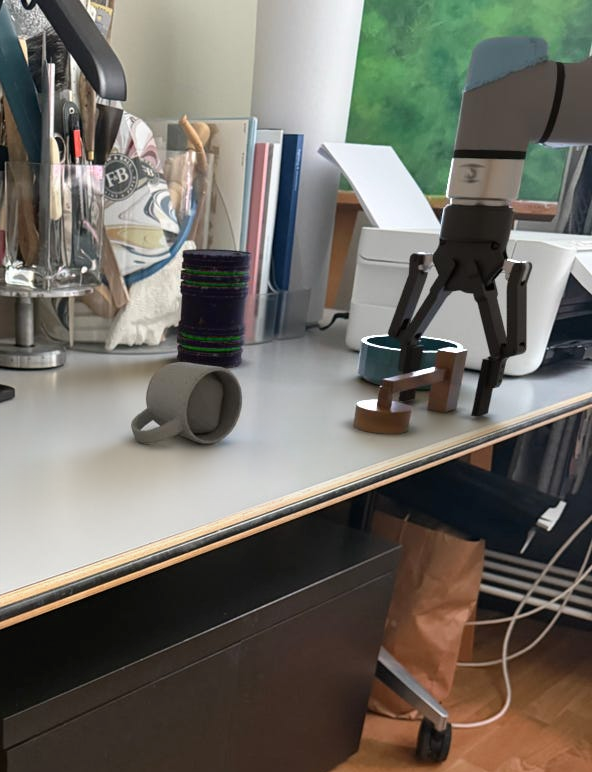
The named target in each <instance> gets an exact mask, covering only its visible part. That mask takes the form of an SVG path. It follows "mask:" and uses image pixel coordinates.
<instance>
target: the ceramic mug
mask: <svg viewBox="0 0 592 772" xmlns="http://www.w3.org/2000/svg"><path fill="white" fill-rule="evenodd" d="M242 393H243V392H242V388H241V385H240V382H239V380H238V378H237V377H236V375H235V374H234V373H233V372H232V371H231V370H230V369H227V368H222V367H217V366H208V365H201V364H193V363H187V362H177V361H176V362H172V363H168V364H166V365H163V366H162V367H161V368H159V369H158V370H157V371H156V372H155V373H154V374H153V375H152V377H151V379H150V381H149V382H148V386H147V390H146V395H145V403H146V408H145V409H143V410H142V411H141V412H140V413H138V414H137V415H136V416H135V417H134V418H133V419H132V420H131V424H130V429H131V431H132V434H133V436H134V437H133V438H134V440H136V442H138V443H141V444H147V445H150V444H156V443H157V444H158V443H160V442H164V441H166V440H169V439H171V438H172V437H173V438H174V436H176V435H179V436H181V437H183V438H186V439H188V440H191V441H193V442H197V443H198V444H203V445H211V444H212V445H213V444H216V443H219V442H220V441H222V440H224V439H225V438H226V437H227V436H229V435H230V433H232V431H233V430H234V428H235V427H236V425H237V423H238V421H239V419H240V415H241V412H242V408H243V407H242V406H243V394H242ZM151 422H154V423H155V424H156V425H158V426H157V427H154V428H151V429H143V428H144V427H146V426H147V425H148V424H149V423H151ZM142 429H143V430H142Z"/></svg>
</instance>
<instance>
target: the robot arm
mask: <svg viewBox="0 0 592 772" xmlns="http://www.w3.org/2000/svg"><path fill="white" fill-rule="evenodd" d="M548 49H549V44H548V41H547V40H546V39H545V38H543V37H539V36H527V35H505V36H495V37H494V36H493V37H488V38H485V39H483V40H481V41H480V42H478V43H477V44H476V45H475V47H473V50H472V51H471V55H470V61H469V65H468V69H467V75H466V78H465V83H464V87H463V88H462V96H461V104H460V110H459V116H458V122H457V127H456V128H457V129H456V134H455V140H454V146H453V147H454V148H453V154H452V158H451V164H450V170H449V176H448V181H447V182H448V183H447V187H446V194H445V196H446V198H448V199H450V202H449V204H447V203H446V204H445V206H444V207H443V210H442V216H441V222H440V226H439V227H440V228H439V233H438V245H437V247H436V249H435V250H434V251H433V252H431V253H430V252H429V253H428V252H424V251H423V252H422V251H421V252H414V253H412V254H411V255H410V256H409V259H408V261H409V263H408V275H407V278H406V281H405V283H404V286H403V289H402V292H401V294H400V297H399V299H398V303H397V305H396V309H395V311H394V314H393V317H392V319H391V322H390V325H389V328H388V330H387V335H388V336H389V337H390V338H394V339H396V340H398V341H399V342H400V344H401V350H400V356H399V363H398V371H399V372H403V374H407V373H411V372H416V371H420V365H421V360H422V354H423V348H424V346H423V345H416V343H419V342H421V340H420V338H421V337H423V335H424V333H425V332H426V330H427V329H428V327H429V325H430V324H431V322H432V321H433V319H434V318H435V317H436V315H437V313H438V312H439V310H440V309H441V307H442V306H443V304H444V303H445V301H446V300H447V298H448V297H449V296H450V295H451V294H452V293H453V292H462V293H465V294H470V295H472V296H473V299H474V301H475V302H476V303H477V307H478V312H479V315H480V319H481V324H482V327H483V333H484V336H485V341H486V344H487V349H488V354H489V356H487V357H486V358H482V359H481V365H480V369H479V375H478V380H477V386H476V389H475V390H476V391H475V395H474V399H473V404H472V410H471V414H470V416H472V417H476V418H478V417H481V416H485V415H487V414H489V409H490V405H491V400H492V395H493V390H494V389H496V388H499V387H501V385H502V383H503V380H504V379H503V378H504V373H505V369H506V364H507V361H508V360H509V358H511V357H516V356H519V355H523V354H525V353H526V352H527V349H528V348H527V347H528V345H527V344H528V342H527V340H528V339H527V337H528V336H527V334H528V333H527V331H528V327H527V325H528V320H527V318H528V317H527V316H528V310H527V309H528V282H529V279H530V275H531V273H532V269H533V263H532V262H531V261H529V260H528V261H527V260H525V261H517V260H514V259H509V256H508V253H507V252H508V250H507V249H508V248H507V247H508V244H509V241H510V238H511V232H512V227H513V222H514V216H515V212H516V210H515V209H514V207H513V206H511V204H512V202H515V201H516V200H518V198H519V193H520V188H521V183H522V177H523V171H524V167H525V160H526V157H527V152H528V148H529V145H530V144H534V143H535V144H537V145H540V146H542V147H544V148H548V149H553V150H560V149H565V148H567V147H581V146H592V54H591V55H589V56H588V57H586V58H585V59H583V60H582V61H580V62H561V61H556V60H548V59H549V55H548ZM433 265H434V268H435V270H436V272H437V275H438V276H437V277H436V278H435V280H434V281H433V283H432V285H431V287H430V288H429V293H428V294H427V295H426V297H425V299H424V300H423V302H422V304H421V306H420V307H419V308H418V310H417V311H416V309H417V306H418V303H419V300H420V298H421V295H422V293H423V290H424V288H425V287H424V286H425V284H426V281H427V279H428V274H429V272H430V271H431V270H432V268H433ZM503 271H504V273H505V275H504V278H505V280H506V281H507V282H506V283H507V284H506V329H505V326H504V321H503V317H502V312H501V308H500V304H499V300H498V296H499V292H498V287H497V283H496V279H497V278H498V277H499V275H501V273H502V272H503ZM415 312H416V313H415ZM414 313H415V314H414ZM419 340H420V341H419ZM416 388H417V387H416ZM416 388H412V389H409V390H405V391H401V392H398V393H399V395H398V401H397V402H400V403H406V402H409V401H413V400H415V399H416V395H417V389H416Z"/></svg>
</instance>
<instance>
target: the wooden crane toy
mask: <svg viewBox="0 0 592 772" xmlns="http://www.w3.org/2000/svg"><path fill="white" fill-rule="evenodd" d="M468 351H469V350H468V349H464V348H463V349H458V348H451V347H449V348H444V349H439V350H437V355H436V361H435V366H434V367H433V368H428V369H424V370H420V371H416V372H411V373H407V374H403V375H399V376H395V377H390V378H386V379H383V380H382V385H379V387H378V393H377V399H366V400H364V399H363V400H360V401H357V402H356V405H355V410H354V418H353V426H354V427H355V428H356V429H358V430H360V431H363V432H368V433H373V434H384V435H396V434H397V435H398V434H402V433H407V432H408V431H409V427H410V421H411V415H412V408H413V407H412V406H411V405H408V404H406V403H405V402H401V401H396V400H395V401H393V398H394V394H396V393H400V392H401V391H405V390H409V389H412V388H416V387H420V386H424V385H428V384H431V389H429V394H428V401H427V407H426V409H427V410H430V411H436V412H441V413H447V412H451V411H454V410H457V409H458V408H457V407H458V403H459V398H460V392H461V388H462V382H463V376H464V372H465V367H466V362H467V356H468Z"/></svg>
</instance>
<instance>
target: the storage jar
mask: <svg viewBox="0 0 592 772" xmlns="http://www.w3.org/2000/svg"><path fill="white" fill-rule="evenodd" d="M181 255H182V257H181V258H182V262H181V269H182V270H180V276H179V277H180V280H181V281H180V286H179V292H180V294H181V302H180V303H181V304H180V320H178V322H177V324H178V325H177V332H178V333H177V334H176V343H177V344H178V345H177V348H176V349H177V355H176V363H177V362H187V363H193V364H201V365H208V366H217V367H222V368H225V369H227V368H234V367H238V366H241V365H242V364H243V358H242V355H243V352H244V348H243V347H244V346H245V340H246V338H245V334H246V332H247V329H246V324H245V312H246V302H247V301H246V300H247V297H248V295H249V291H250V289H249V288H250V284H249V283H250V282H251V273H250V271H251V263H250V261H251V260H252V252H249V251H244V250H243V251H242V250H231V249H214V248H213V249H212V248H210V249H209V248H199V249H198V248H197V249H196V248H195V249H193V248H192V249H184V250H182V254H181Z"/></svg>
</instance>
